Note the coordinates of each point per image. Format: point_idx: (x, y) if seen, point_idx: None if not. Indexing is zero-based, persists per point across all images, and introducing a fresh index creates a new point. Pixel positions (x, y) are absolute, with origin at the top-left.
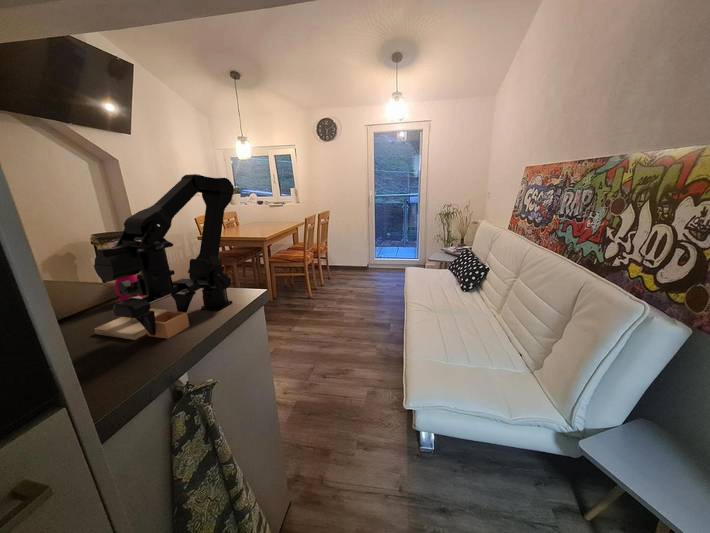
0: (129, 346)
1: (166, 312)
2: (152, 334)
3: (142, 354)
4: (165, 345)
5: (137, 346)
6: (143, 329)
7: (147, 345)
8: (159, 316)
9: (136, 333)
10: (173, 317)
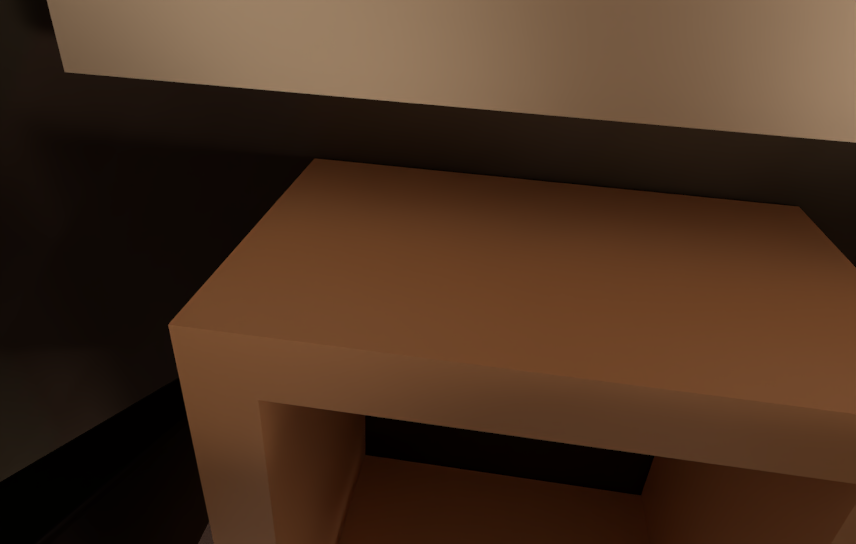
0: (4, 148)
1: (832, 465)
2: None
3: (15, 433)
4: None
5: (63, 261)
6: (291, 90)
7: (136, 359)
8: (571, 420)
9: (140, 70)
10: (739, 482)
